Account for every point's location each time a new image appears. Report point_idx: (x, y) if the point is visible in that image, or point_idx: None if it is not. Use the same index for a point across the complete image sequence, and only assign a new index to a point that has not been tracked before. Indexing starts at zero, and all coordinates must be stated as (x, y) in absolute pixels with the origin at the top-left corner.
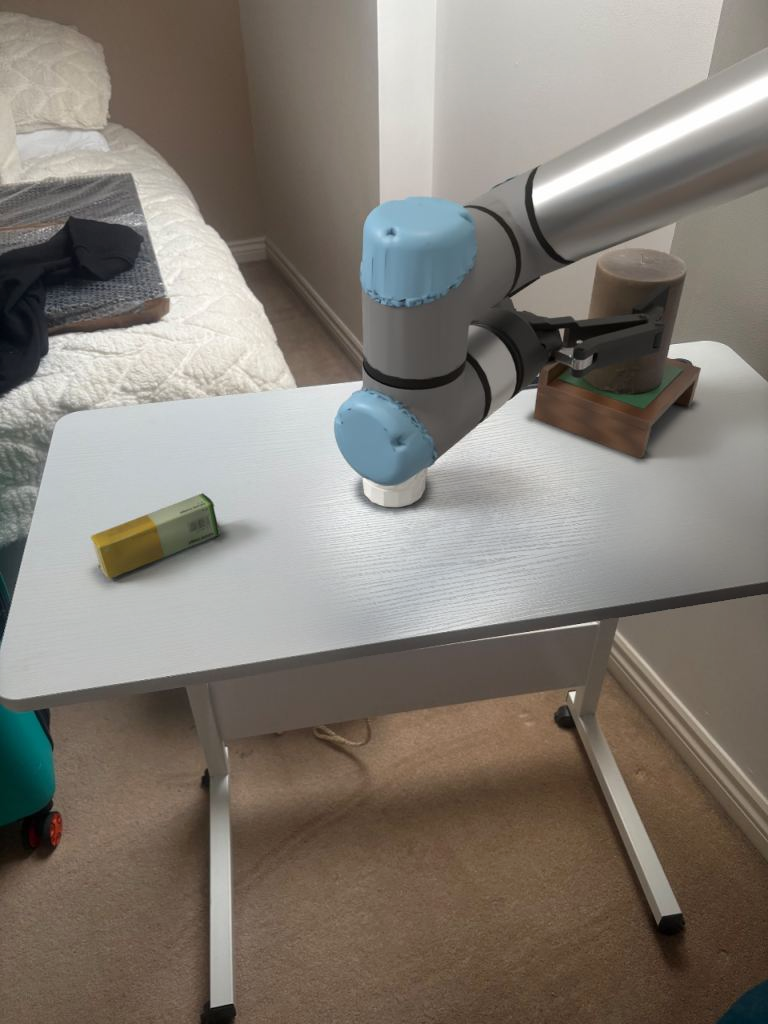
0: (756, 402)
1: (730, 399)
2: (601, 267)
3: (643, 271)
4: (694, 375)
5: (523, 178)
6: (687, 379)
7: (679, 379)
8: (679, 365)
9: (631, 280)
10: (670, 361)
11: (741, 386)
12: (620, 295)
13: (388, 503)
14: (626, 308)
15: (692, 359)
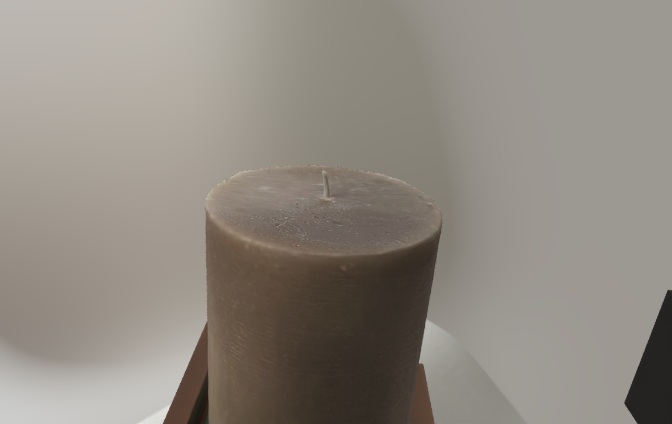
0: (486, 378)
1: (452, 387)
2: (232, 231)
3: (352, 221)
4: (427, 387)
5: None
6: (426, 404)
7: (415, 410)
8: None
9: (347, 257)
10: None
11: (444, 353)
12: (318, 305)
13: None
14: (341, 337)
15: None
